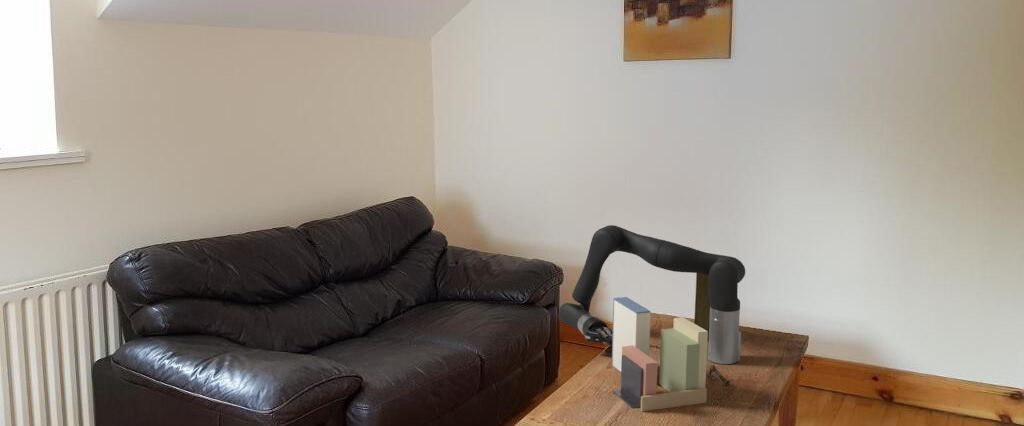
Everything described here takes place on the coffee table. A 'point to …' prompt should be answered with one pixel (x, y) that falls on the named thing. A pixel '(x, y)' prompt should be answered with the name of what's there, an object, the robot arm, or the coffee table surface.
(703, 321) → the book
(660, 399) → the book rack
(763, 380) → the coffee table surface
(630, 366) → the bookend
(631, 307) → the blue book
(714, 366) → the brown irregular piece
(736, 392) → the coffee table surface
